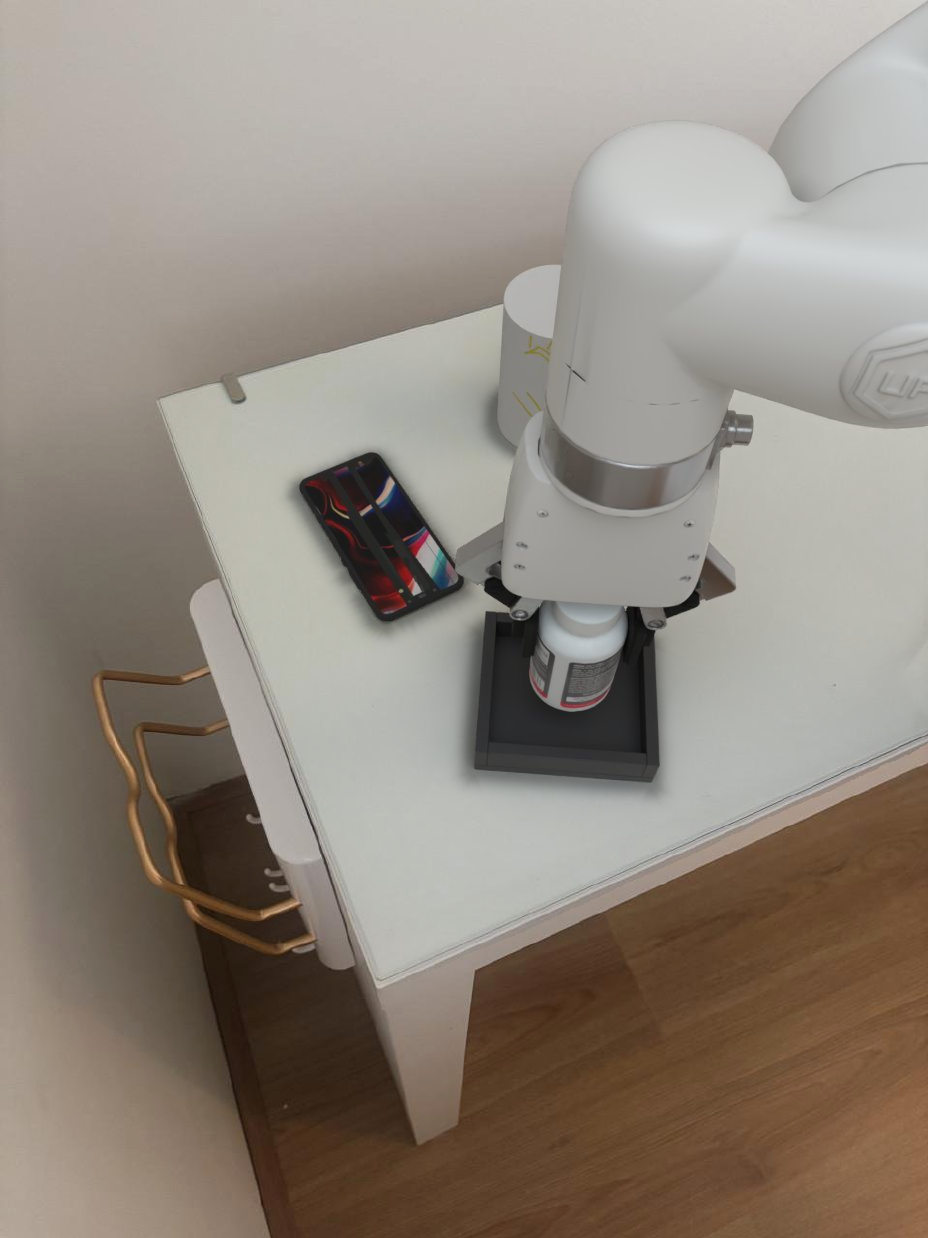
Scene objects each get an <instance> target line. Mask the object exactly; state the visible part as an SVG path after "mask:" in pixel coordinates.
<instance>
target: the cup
mask: <svg viewBox="0 0 928 1238" xmlns="http://www.w3.org/2000/svg"><path fill="white" fill-rule="evenodd" d="M560 271H561V264H545V265H539V266H536V267H532V268H529V269H527V270H525V271H523V272H521V273H519V274H517V275H516V276H514V278H513V279H512V280H511V281H510V282H509V283H508V285H507V286H506V288H505V291H504V293H503V305H502V307H503V308H502V322H501V323H502V325H501V340H500V342H501V343H500V346H501V347H500V359H499V376H498V377H499V378H498V393H497V394H498V395H497V398H498V399H497V411H496V412H497V414H496V421H497V422H496V423H497V426H498V428H499V431H500V432H501V434H502V435H503V437H504V438H505V440H507V441H508V443H510V444H511V445H513V446H514V447H516V448H518V445H519V442H520V439H521V437H522V434H523V432H524V430H525V428H526V425H527V423H528V422H529V420H530V419H531V418H532V417H533V416H534V415H535V414H536V413H538V412H540V411H544V402H545V394H546V386H547V378H548V369H549V362H550V354H551V346H552V338H553V330H554V322H555V314H556V305H557V297H558V288H559V280H560Z"/></svg>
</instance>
